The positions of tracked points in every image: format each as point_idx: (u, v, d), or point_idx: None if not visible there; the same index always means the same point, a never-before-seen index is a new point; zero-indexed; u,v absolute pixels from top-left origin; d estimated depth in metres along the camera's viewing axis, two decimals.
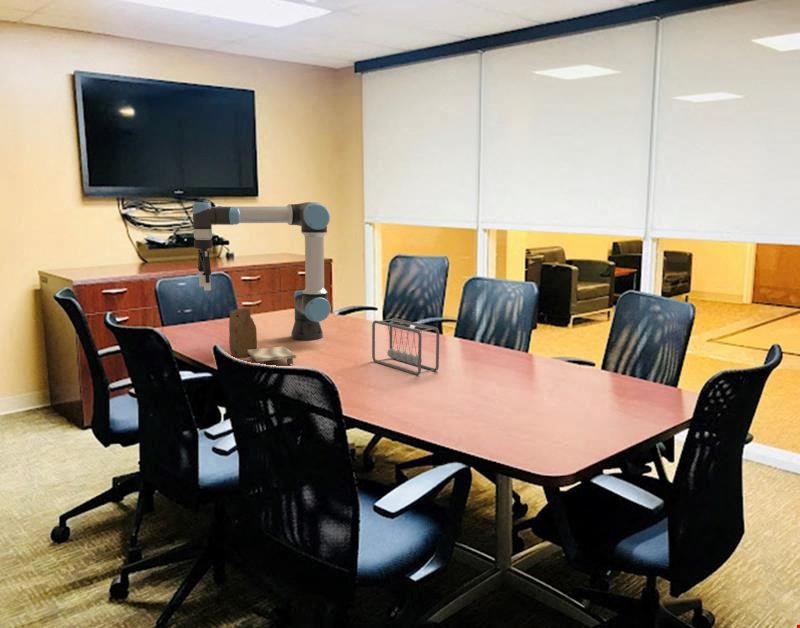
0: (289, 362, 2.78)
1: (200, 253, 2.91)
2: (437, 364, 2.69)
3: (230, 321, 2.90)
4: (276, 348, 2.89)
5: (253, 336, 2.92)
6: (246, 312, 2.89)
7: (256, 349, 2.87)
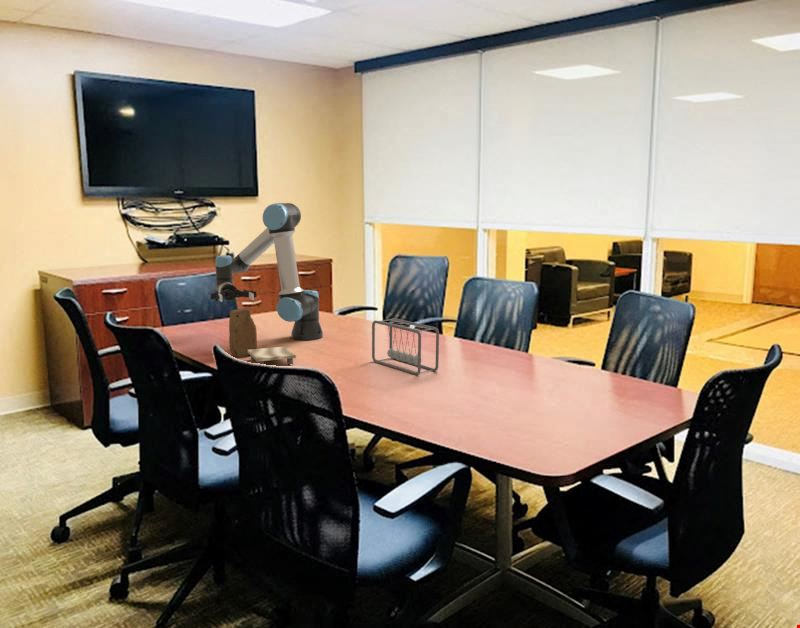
0: (289, 362, 2.78)
1: None
2: (437, 364, 2.69)
3: (230, 321, 2.90)
4: (276, 348, 2.89)
5: (253, 336, 2.92)
6: (246, 312, 2.89)
7: (256, 349, 2.87)
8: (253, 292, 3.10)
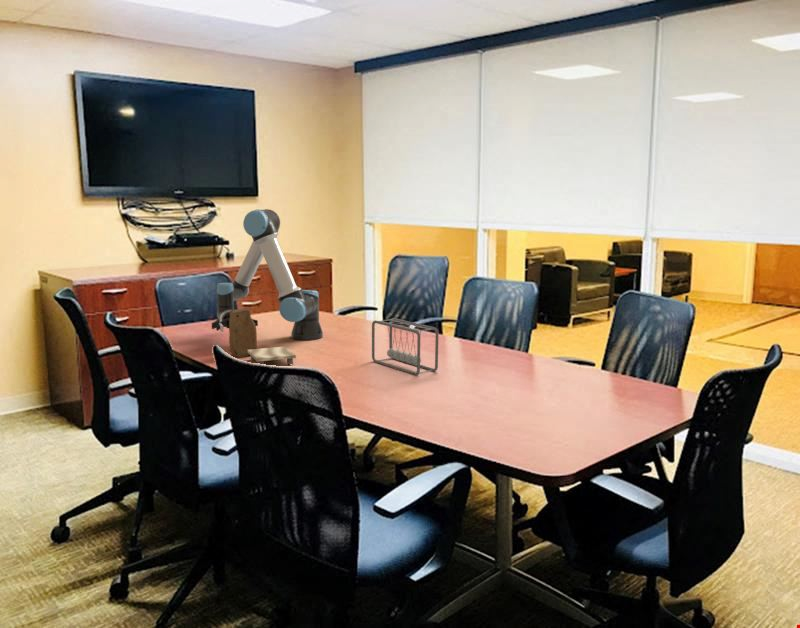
0: (289, 362, 2.78)
1: None
2: (436, 364, 2.69)
3: (230, 321, 2.90)
4: (276, 348, 2.89)
5: (253, 336, 2.92)
6: (246, 312, 2.89)
7: (256, 349, 2.87)
8: (254, 321, 3.09)
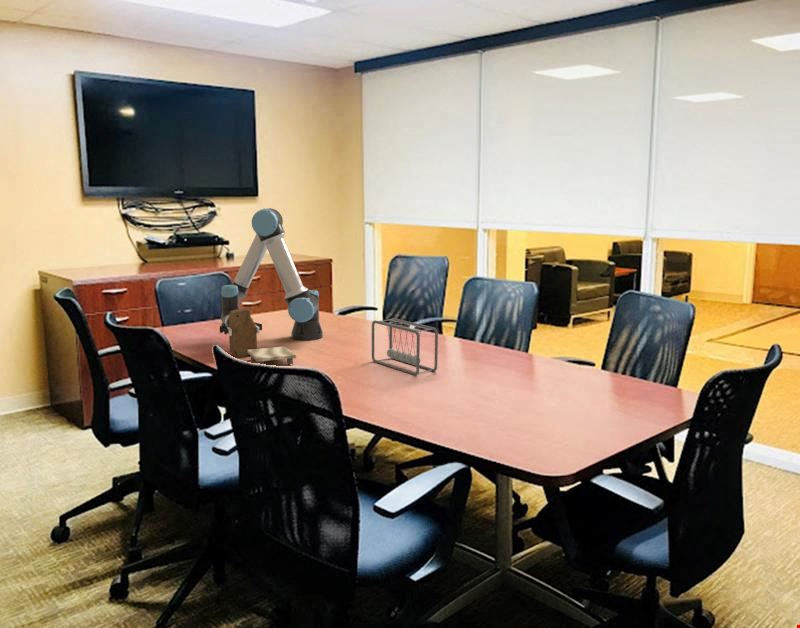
0: (289, 362, 2.78)
1: None
2: (436, 364, 2.69)
3: (230, 321, 2.90)
4: (276, 348, 2.89)
5: (253, 336, 2.92)
6: (246, 312, 2.89)
7: (256, 349, 2.87)
8: (259, 325, 3.00)
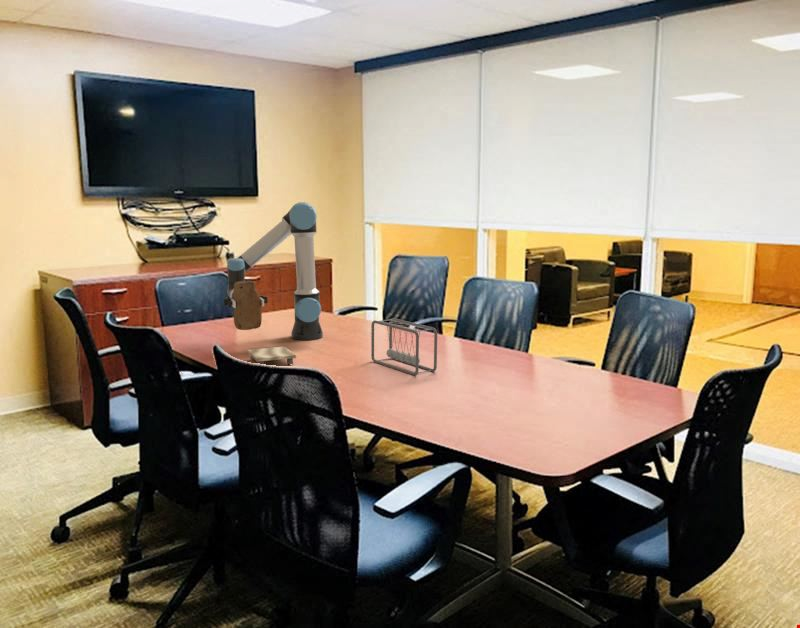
0: (289, 362, 2.78)
1: None
2: (435, 364, 2.69)
3: (234, 293, 2.82)
4: (276, 348, 2.89)
5: (257, 309, 2.84)
6: (250, 284, 2.81)
7: (256, 349, 2.87)
8: (264, 297, 2.92)
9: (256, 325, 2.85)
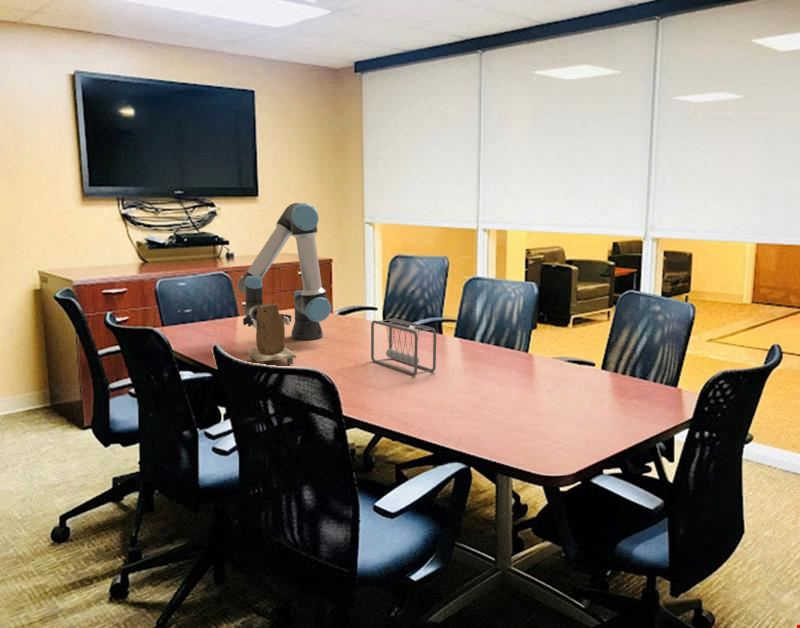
0: (289, 362, 2.78)
1: None
2: (434, 365, 2.68)
3: (257, 317, 2.77)
4: None
5: (281, 333, 2.79)
6: (274, 307, 2.77)
7: (256, 349, 2.87)
8: (287, 316, 2.89)
9: (279, 349, 2.81)
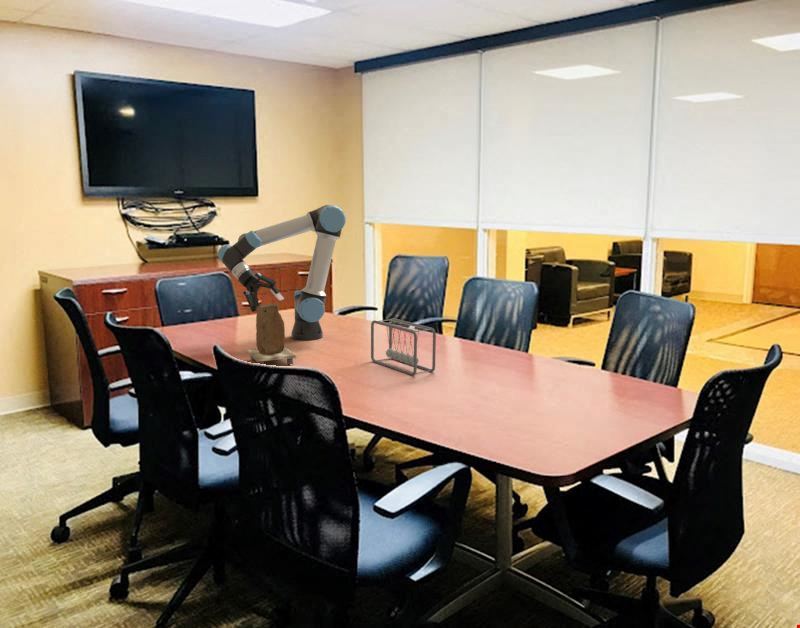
0: (289, 362, 2.78)
1: (252, 282, 3.00)
2: (433, 365, 2.68)
3: (257, 317, 2.77)
4: None
5: (281, 333, 2.79)
6: (274, 307, 2.76)
7: (256, 349, 2.87)
8: None
9: (279, 349, 2.81)
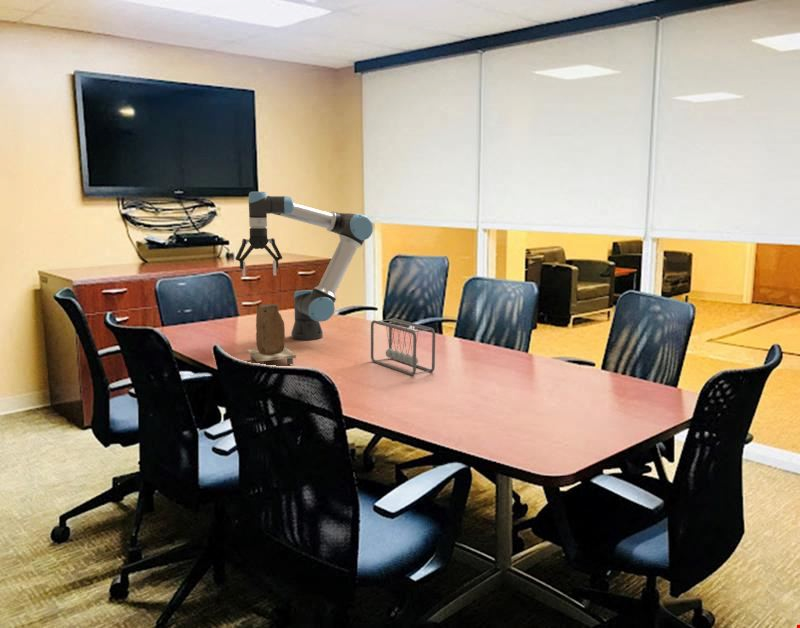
0: (289, 362, 2.78)
1: (263, 241, 2.99)
2: (433, 365, 2.68)
3: (257, 317, 2.77)
4: None
5: (281, 333, 2.79)
6: (274, 307, 2.76)
7: (256, 349, 2.87)
8: None
9: (279, 349, 2.81)
